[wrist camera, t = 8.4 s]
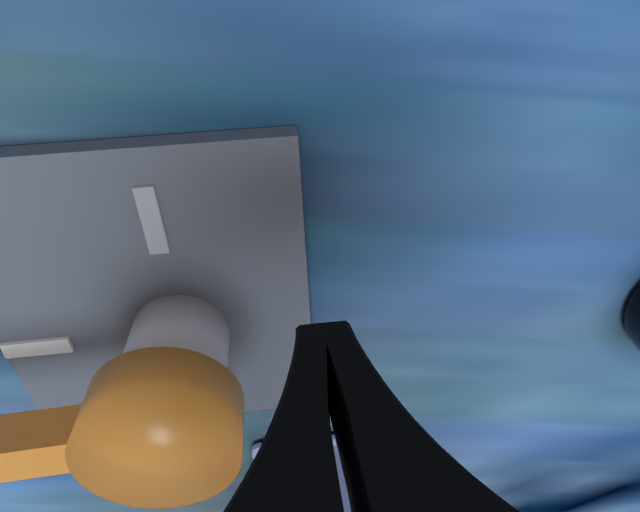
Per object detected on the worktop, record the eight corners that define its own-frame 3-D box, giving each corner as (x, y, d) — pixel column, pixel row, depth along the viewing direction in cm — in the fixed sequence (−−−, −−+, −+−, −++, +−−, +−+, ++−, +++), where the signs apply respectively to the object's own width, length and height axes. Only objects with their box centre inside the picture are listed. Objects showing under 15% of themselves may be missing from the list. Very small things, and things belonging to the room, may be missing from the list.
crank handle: (228, 336, 18) (224, 391, 16) (255, 438, 21) (255, 496, 19) (-164, 389, 18) (-223, 453, 15) (-74, 485, 21) (-113, 549, 19)
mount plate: (314, 387, 28) (323, 468, 24) (57, 414, 27) (19, 502, 23) (296, 125, 19) (305, 178, 15) (-77, 151, 19) (-174, 216, 14)
